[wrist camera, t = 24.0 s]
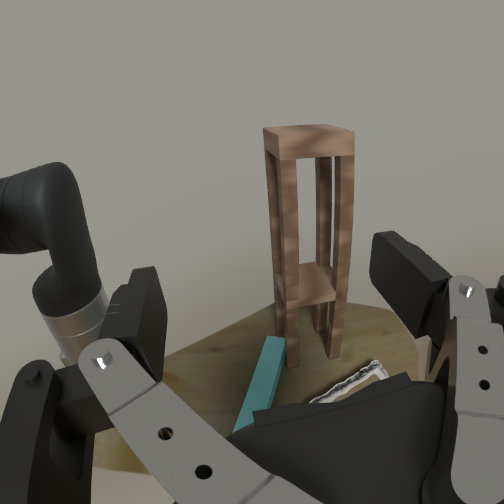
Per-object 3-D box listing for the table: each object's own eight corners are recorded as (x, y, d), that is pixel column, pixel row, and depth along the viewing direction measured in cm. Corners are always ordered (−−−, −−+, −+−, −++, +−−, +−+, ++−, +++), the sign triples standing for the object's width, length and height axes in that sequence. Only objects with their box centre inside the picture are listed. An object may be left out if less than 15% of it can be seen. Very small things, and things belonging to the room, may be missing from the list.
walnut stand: (287, 368, 43) (278, 135, 28) (276, 333, 50) (262, 127, 35) (338, 357, 44) (354, 131, 29) (322, 324, 51) (325, 124, 36)
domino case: (224, 473, 29) (219, 465, 28) (268, 349, 48) (267, 335, 46) (248, 479, 29) (246, 471, 27) (286, 351, 47) (286, 337, 46)
